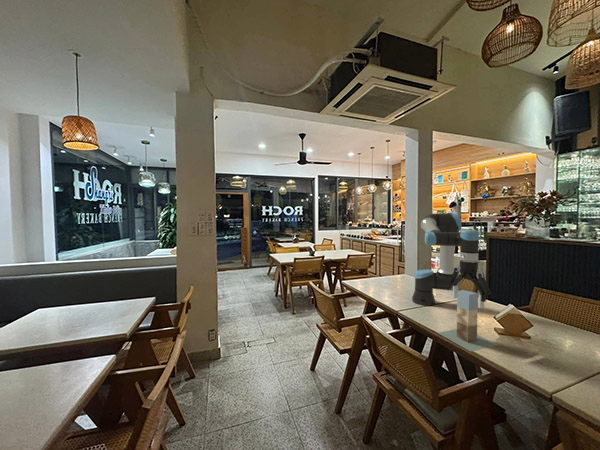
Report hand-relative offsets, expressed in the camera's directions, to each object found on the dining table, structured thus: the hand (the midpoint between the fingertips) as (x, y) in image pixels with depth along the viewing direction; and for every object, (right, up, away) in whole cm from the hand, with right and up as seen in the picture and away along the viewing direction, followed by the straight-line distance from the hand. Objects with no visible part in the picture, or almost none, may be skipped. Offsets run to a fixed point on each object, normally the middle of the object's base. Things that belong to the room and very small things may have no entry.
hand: (467, 302), depth 119 cm
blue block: (0, -3, 0) cm, 3 cm away
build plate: (0, -20, +1) cm, 20 cm away
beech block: (0, -11, +1) cm, 11 cm away
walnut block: (0, -19, +1) cm, 19 cm away
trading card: (+18, -19, +22) cm, 34 cm away
